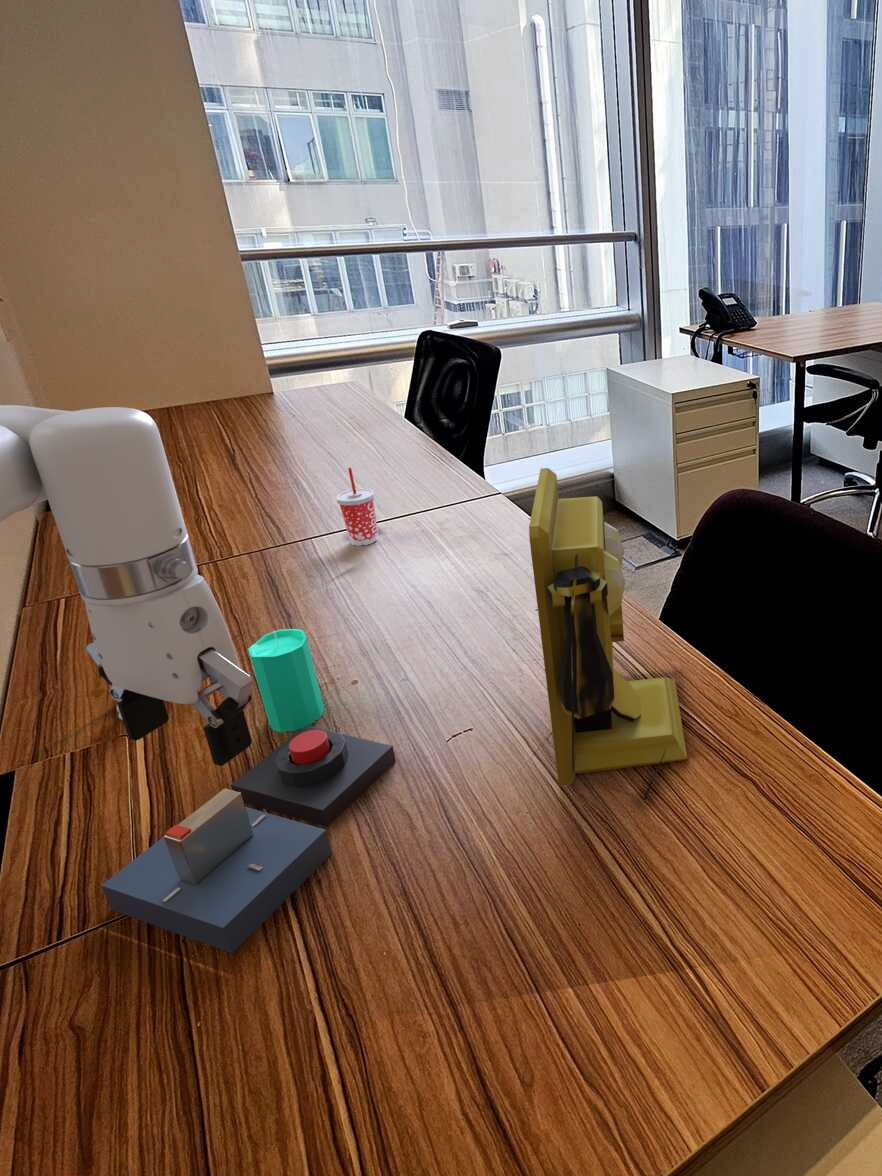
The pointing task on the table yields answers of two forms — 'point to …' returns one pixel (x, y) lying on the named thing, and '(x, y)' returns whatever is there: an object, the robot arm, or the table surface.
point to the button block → (315, 778)
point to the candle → (287, 679)
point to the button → (309, 747)
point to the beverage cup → (359, 514)
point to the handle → (208, 835)
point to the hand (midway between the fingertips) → (191, 742)
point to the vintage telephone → (592, 645)
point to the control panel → (222, 883)
